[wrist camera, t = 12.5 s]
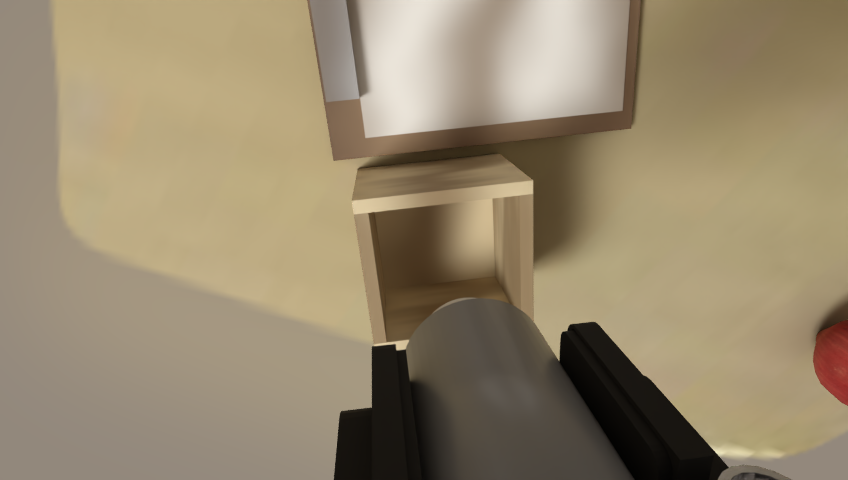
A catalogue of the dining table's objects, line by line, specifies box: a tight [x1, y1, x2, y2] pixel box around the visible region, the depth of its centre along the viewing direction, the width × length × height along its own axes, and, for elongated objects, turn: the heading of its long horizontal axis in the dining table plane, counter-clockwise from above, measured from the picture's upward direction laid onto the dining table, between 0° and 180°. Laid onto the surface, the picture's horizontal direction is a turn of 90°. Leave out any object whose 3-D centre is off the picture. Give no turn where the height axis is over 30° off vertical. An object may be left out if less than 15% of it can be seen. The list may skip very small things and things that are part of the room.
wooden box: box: [352, 153, 534, 350], centre depth 24 cm, size 8×8×6 cm
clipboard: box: [307, 0, 641, 161], centre depth 22 cm, size 16×12×1 cm
